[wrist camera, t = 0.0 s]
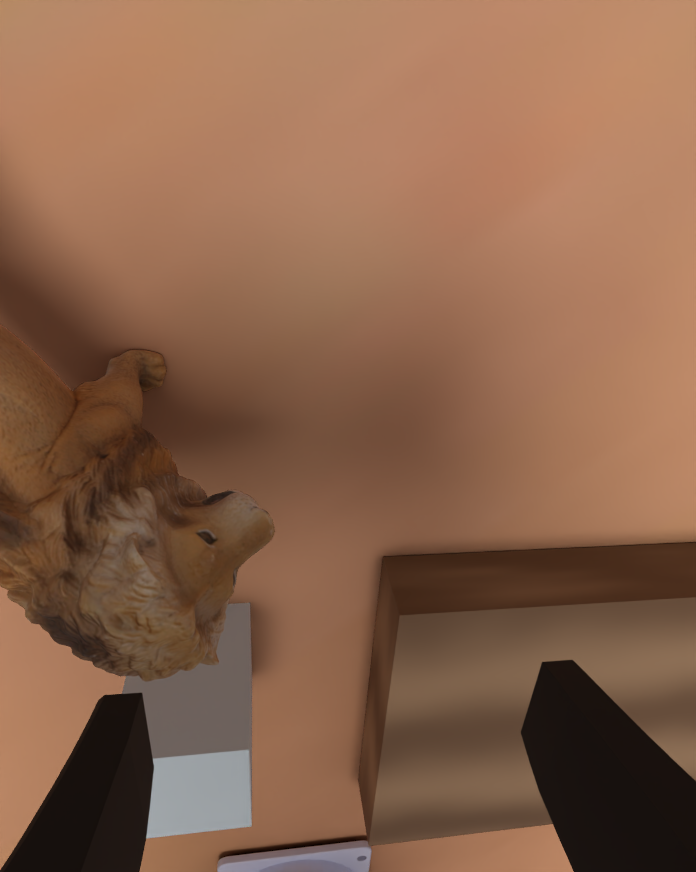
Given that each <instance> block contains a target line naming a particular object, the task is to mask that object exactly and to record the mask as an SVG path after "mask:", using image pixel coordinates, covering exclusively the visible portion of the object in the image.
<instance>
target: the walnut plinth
mask: <svg viewBox="0 0 696 872" xmlns="http://www.w3.org/2000/svg"><path fill="white" fill-rule="evenodd" d="M560 660H573V661H575V662H576V663H577V664H578V665H579V666H580V667H581V668H582V669H583V670H584V671H585V672H586V673H587V674H588V675H589V676H590V677H591V679H592V680H593V681H594V682H595V683H596V684H597V685H598V686H599V687H600V688H601V689H602V690H603V691H604V692H605V693H606V694H607V695H608V696H609V697H610V698H611V699H612V700H613V701H614V702H615V703H616V704H617V705H618V706H619V707H620V708H621V709H622V710H623V711H624V712H625V713H626V714H627V715H628V716H629V717H630V718H631V719H632V720H633V721H634V722H635V723H636V724H637V725H638V726H639V727H640V728H641V729H642V730H643V731H644V732H645V733H646V734H647V735H648V736H649V737H650V738H651V739H652V740H653V741H654V742H655V743H656V744H657V745H659V746H660V747H661V748H662V749H663V750H664V751H665V752H666V753H667V754H668V755H669V756H670V757H671V758H672V759H673V760H674V761H675V762H676V763H677V764H678V765H679V766H680V767H682V768H683V769H684V770H685V771H686V772H687V773H688V774H689V775H690V776H691V777H692V778H693V779H694V780H695V781H696V542H695V543H673V544H651V545H629V546H608V547H586V548H564V549H542V550H520V551H499V552H477V553H455V554H433V555H411V556H390V557H383V560H382V569H381V578H380V587H379V596H378V605H377V614H376V623H375V632H374V642H373V651H372V660H371V669H370V678H369V687H368V696H367V705H366V714H365V723H364V733H363V742H362V751H361V760H360V769H359V778H358V782H359V788H360V794H361V801H362V807H363V814H364V820H365V827H366V833H367V839H368V846H374V845H382V844H391V843H399V842H407V841H416V840H424V839H432V838H441V837H449V836H457V835H465V834H474V833H482V832H490V831H499V830H507V829H515V828H524V827H532V826H540V825H548V824H553V823H552V821H551V818H550V816H549V814H548V811H547V809H546V807H545V804H544V802H543V800H542V797H541V795H540V792H539V790H538V787H537V784H536V781H535V778H534V774H533V771H532V768H531V765H530V762H529V759H528V755H527V752H526V749H525V745H524V742H523V739H522V735H521V729H522V726H523V723H524V720H525V716H526V713H527V710H528V707H529V703H530V700H531V697H532V694H533V690H534V687H535V684H536V680H537V677H538V674H539V671H540V667H541V664H542V662H547V661H560Z"/></svg>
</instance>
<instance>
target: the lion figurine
mask: <svg viewBox="0 0 696 872" xmlns="http://www.w3.org/2000/svg"><path fill="white" fill-rule="evenodd" d="M166 371H167V370H166V367H165V365H164V359H163V356H162V355H161V354H158V353H155V352H152V351H147V350H130V351H127V352H125V353H123V354H121V355H120V356H119V357H114V358H112V359H111V360H110V361H109V363H108V367H107V372H106V375H105V376H104V377H102V378H100V379H98V380H97V381H89V382H85V383H83V384H81V385H79V386H78V387H77V388H76V389H75V390H74V391H71V390H70V389H69V388H68V387H67V386H66V385H65V384H64V383H63V381H62V380H61V379H60V378H59V377H58V376H57V375H56V374H55V373H54V372H53V370H52V369H51V368H50V367H49V366H48V365H47V364H46V363H45V362H44V361H43V360H42V359H41V358H40V357H39V356H38V355H37V354H36V353H35V352H34V351H33V350H32V349H31V348H29V347H28V346H27V345H26V344H25V343H23V342H22V341H21V340H20V339H19V338H18V337H16V336H15V335H14V334H13V333H11V332H10V331H9V330H8V329H6V328H5V327H4V326H3V325H1V324H0V586H1V587H3V588H5V589H7V590H9V591H8V593H7V596H8V598H9V599H10V600H11V601H13V602H16V603H18V604H19V605H20V606H22V607H23V608H24V609H25V616H26V618H27V619H28V620H29V621H30V622H31V623H34V624H40V626H41V627H42V628H43V629H44V630H45V631H47V632H49V634H50V636H51V637H52V639H53V640H54V641H55V642H57V643H59V644H61V645H66V646H69V647H71V648H72V653H73V655H75V656H77V657H79V658H80V659H83V660H87V661H92V662H93V665H94V666H95V667H98V668H101V669H103V670H105V671H107V672H109V673H113V674H116V675H118V676H139V677H140V678H141V679H142V680H143V681H145V682H147V681H152V680H156V679H163V678H167V677H170V676H172V675H174V674H176V673H177V672H178V671H180V670H184V671H190V670H192V669H194V668H195V667H196V666H197V665H198V664H199V663H202V664H206V665H218V663H219V660H218V657H217V654H216V650H217V646H218V642H219V638H220V635H221V633H222V632H223V630H224V623H225V619H226V613H225V612H226V609H227V605H228V602H229V599H230V597H231V596H232V594H233V592H234V587H235V584H236V577H237V571H238V569H239V567H240V566H241V565H242V564H243V563H244V562H245V561H246V560H247V559H248V558H250V557H251V556H252V555H254V554H255V553H256V552H258V551H259V550H260V549H261V548H262V547H264V546H265V545H266V544H267V543H268V542H269V541H270V540H271V539H272V537H273V535H274V532H275V530H274V524H273V520H272V518H271V517H270V515H269V514H268V512H267V511H265V510H263V509H260V508H259V507H258V505H257V503H256V502H255V501H254V500H253V499H252V498H251V497H250V496H249V495H247V494H243V493H242V492H241V491H238V490H227V491H225V492H223V493H219V494H215V495H212V496H210V497H207V495H206V493H205V492H204V490H203V489H202V488H201V487H200V486H199V485H198V484H197V483H196V482H194V481H193V480H190V479H186V478H183V477H181V476H179V474H178V473H177V467H176V465H175V463H174V462H173V460H172V457H171V453H170V451H169V450H168V449H167V448H163V447H162V445H161V444H160V443H159V442H158V441H157V440H156V439H155V438H154V436H153V435H152V434H150V433H149V432H147V431H146V430H144V429H143V428H142V426H141V421H142V411H143V398H142V391H148V390H151V389H152V388H153V387H160V386H161V385H162V384H163V378H164V376H165V375H166Z"/></svg>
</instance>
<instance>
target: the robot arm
mask: <svg viewBox="0 0 696 872" xmlns="http://www.w3.org/2000/svg"><path fill="white" fill-rule="evenodd" d="M521 735H522V739H523V742H524V745H525V749H526V752H527V755H528V759H529V762H530V765H531V768H532V771H533V774H534V778H535V781H536V784H537V787H538V790H539V792H540V795H541V797H542V800H543V802H544V804H545V807H546V809H547V811H548V814H549V816H550V818H551V821H552V823H553V825H554V827H555V830H556V832H557V834H558V837H559V839H560V841H561V844H562V846H563V848H564V850H565V853H566V855H567V857H568V859H569V862H570V864H571V866H572V869H573V871H574V872H696V781H695V780H694V779H693V778H692V777H691V776H690V775H689V774H688V773H687V772H686V771H685V770H684V769H683V768H682V767H680V766H679V765H678V764H677V763H676V762H675V761H674V760H673V759H672V758H671V757H670V756H669V755H668V754H667V753H666V752H665V751H664V750H663V749H662V748H661V747H660V746H659V745H657V744H656V743H655V742H654V741H653V740H652V739H651V738H650V737H649V736H648V735H647V734H646V733H645V732H644V731H643V730H642V729H641V728H640V727H639V726H638V725H637V724H636V723H635V722H634V721H633V720H632V719H631V718H630V717H629V716H628V715H627V714H626V713H625V712H624V711H623V710H622V709H621V708H620V707H619V706H618V705H617V704H616V703H615V702H614V701H613V700H612V699H611V698H610V697H609V696H608V695H607V694H606V693H605V692H604V691H603V690H602V689H601V688H600V687H599V686H598V685H597V684H596V683H595V682H594V681H593V680H592V679H591V677H590V676H589V675H588V674H587V673H586V672H585V671H584V670H583V669H582V668H581V667H580V666H579V665H578V664H577V663H576V662H575V661H573V660H560V661H547V662H542V664H541V667H540V671H539V674H538V677H537V680H536V684H535V687H534V690H533V694H532V697H531V700H530V703H529V707H528V710H527V713H526V716H525V720H524V723H523V726H522V729H521ZM153 773H154V764H153V757H152V751H151V745H150V738H149V732H148V726H147V719H146V713H145V707H144V700H143V694H142V692H141V693H128V694H115V695H104V696H103V697H102V698H101V699H100V700H98V702H97V704H96V706H95V709H94V711H93V713H92V715H91V717H90V719H89V721H88V723H87V725H86V727H85V728H84V730H83V732H82V734H81V736H80V738H79V740H78V742H77V744H76V746H75V747H74V749H73V751H72V753H71V755H70V756H69V758H68V760H67V762H66V764H65V765H64V767H63V769H62V771H61V772H60V774H59V776H58V778H57V779H56V781H55V783H54V785H53V786H52V788H51V790H50V791H49V793H48V795H47V796H46V798H45V800H44V801H43V803H42V805H41V806H40V808H39V810H38V811H37V813H36V815H35V816H34V818H33V819H32V821H31V823H30V824H29V826H28V828H27V829H26V831H25V833H24V834H23V836H22V838H21V839H20V841H19V842H18V844H17V846H16V847H15V849H14V850H13V852H12V853H11V855H10V856H9V858H8V859H7V861H6V862H5V864H4V865H3V867H2V868H1V870H0V872H139V871H140V866H141V861H142V856H143V851H144V846H145V841H146V836H147V828H148V819H149V810H150V802H151V792H152V782H153ZM371 852H372V851H371V846H368V841H365V840H361V841H353V842H344V843H336V844H327V845H319V846H310V847H302V848H294V849H285V850H277V851H268V852H260V853H252V854H243V855H235V856H227V857H223V858H221V859H220V860H219V861H218V866H217V872H369V866H370V859H371Z"/></svg>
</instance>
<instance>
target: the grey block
mask: <svg viewBox="0 0 696 872" xmlns="http://www.w3.org/2000/svg"><path fill="white" fill-rule="evenodd" d="M225 613H226V619H225V623H224V630H223V632H222V633H221V635H220V638H219V642H218V646H217V650H216V654H217V657H218V660H219V663H218V665H206V664H202V663H199V664H198V665H197V666H196V667H195V668H194V669H192V670H190V671H184V670H180V671H178V672H177V673H176V674H174V675H172V676H170V677H167V678H163V679H156V680H152V681H147V682H145V681H143V680H142V679H141V678H140V677H139V676H126V679H125V683H124V687H123V692H122V694H128V693H141V692H142V694H143V700H144V707H145V713H146V719H147V726H148V732H149V738H150V745H151V751H152V757H153V764H154V773H153V782H152V792H151V802H150V810H149V819H148V828H147V836H146V838H154V837H163V836H172V835H181V834H190V833H198V832H207V831H216V830H225V829H234V828H242V827H251V826H252V652H251V615H250V603H236V604H228V605H227V609H226V612H225Z"/></svg>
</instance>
